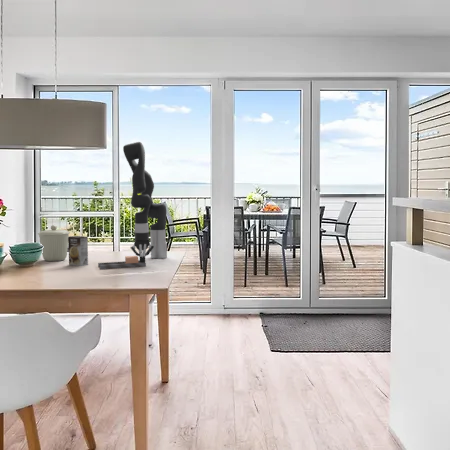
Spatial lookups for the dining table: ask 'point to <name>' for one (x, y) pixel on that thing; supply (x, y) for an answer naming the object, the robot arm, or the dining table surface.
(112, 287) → the dining table surface
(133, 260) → the block
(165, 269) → the dining table surface
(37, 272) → the dining table surface
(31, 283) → the dining table surface
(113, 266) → the chute
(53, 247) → the canister
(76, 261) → the coffee box
